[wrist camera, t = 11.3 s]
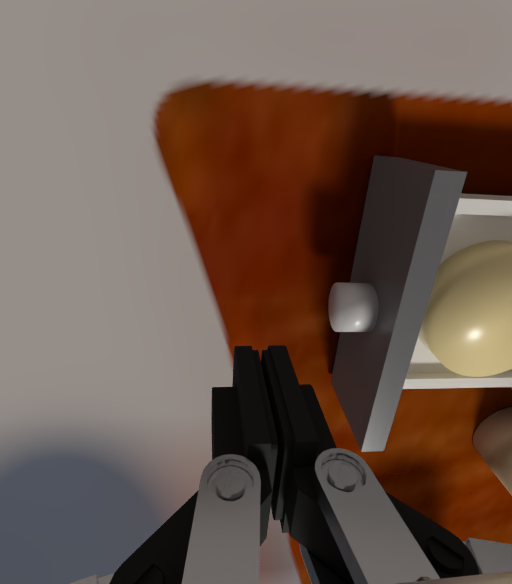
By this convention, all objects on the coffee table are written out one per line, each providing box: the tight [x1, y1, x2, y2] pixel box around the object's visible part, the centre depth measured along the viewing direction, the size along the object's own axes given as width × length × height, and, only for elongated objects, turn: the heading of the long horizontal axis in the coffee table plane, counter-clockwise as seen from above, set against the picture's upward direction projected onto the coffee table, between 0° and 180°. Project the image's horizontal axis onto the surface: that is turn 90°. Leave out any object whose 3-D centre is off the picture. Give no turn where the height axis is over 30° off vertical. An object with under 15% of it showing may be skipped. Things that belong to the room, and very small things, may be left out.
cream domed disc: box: [418, 240, 512, 377], centre depth 19 cm, size 7×7×2 cm
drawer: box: [328, 155, 512, 452], centre depth 19 cm, size 16×14×5 cm
